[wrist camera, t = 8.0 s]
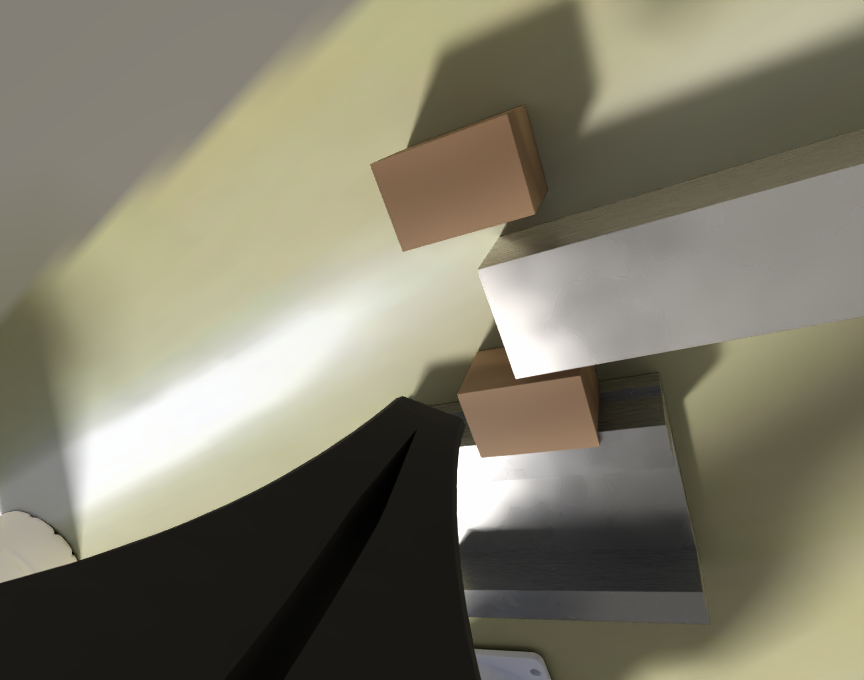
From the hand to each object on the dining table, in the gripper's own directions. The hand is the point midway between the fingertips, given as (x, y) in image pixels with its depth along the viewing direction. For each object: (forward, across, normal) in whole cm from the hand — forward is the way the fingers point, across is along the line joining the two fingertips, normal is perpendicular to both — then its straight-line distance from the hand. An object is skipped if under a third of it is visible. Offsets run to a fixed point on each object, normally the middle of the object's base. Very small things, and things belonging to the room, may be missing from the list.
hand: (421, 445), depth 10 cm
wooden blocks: (+10, 0, 0) cm, 10 cm away
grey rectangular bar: (+10, -6, -3) cm, 12 cm away
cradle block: (+9, -4, +8) cm, 13 cm away
